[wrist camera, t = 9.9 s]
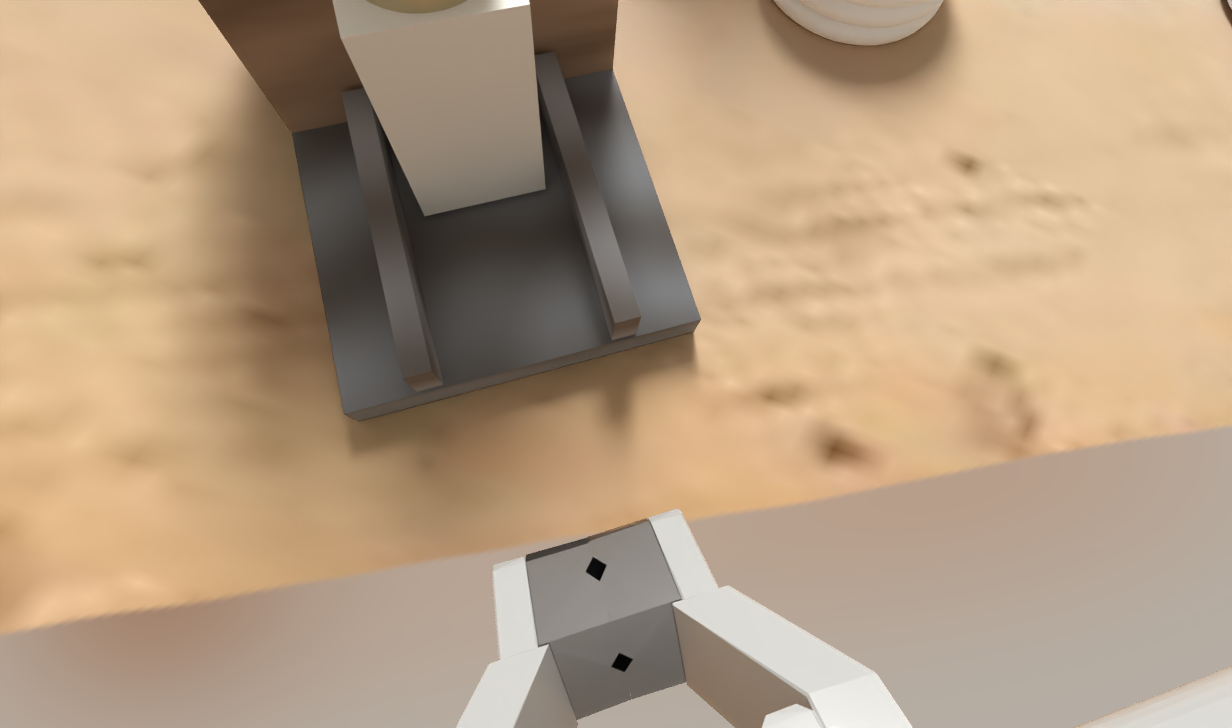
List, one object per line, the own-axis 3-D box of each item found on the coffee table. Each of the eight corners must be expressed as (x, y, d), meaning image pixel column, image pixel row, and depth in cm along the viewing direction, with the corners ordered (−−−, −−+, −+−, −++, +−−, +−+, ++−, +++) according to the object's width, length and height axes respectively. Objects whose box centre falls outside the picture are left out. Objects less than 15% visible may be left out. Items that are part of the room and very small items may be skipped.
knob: (545, 189, 25) (523, -68, 14) (424, 216, 24) (307, -33, 14) (516, 90, 26) (475, -214, 15) (399, 113, 25) (274, -188, 15)
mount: (693, 331, 25) (808, 135, 13) (358, 421, 23) (112, 292, 11) (555, -66, 31) (542, -473, 18) (273, -20, 29) (46, -440, 16)
